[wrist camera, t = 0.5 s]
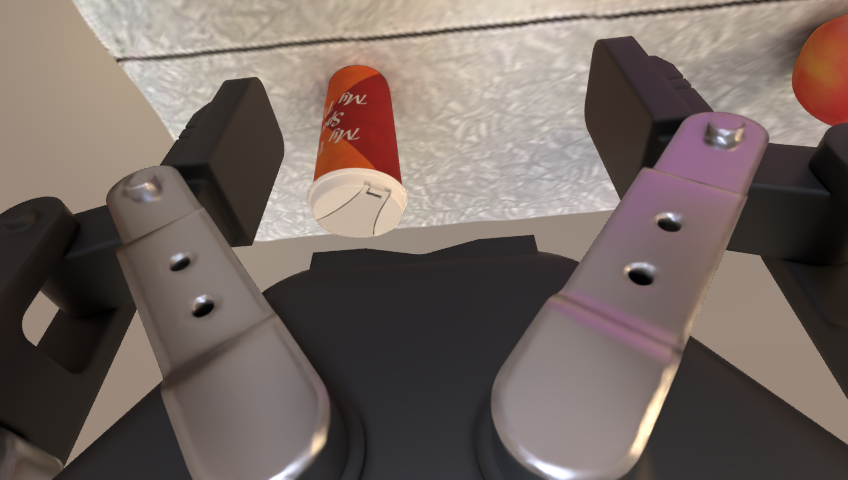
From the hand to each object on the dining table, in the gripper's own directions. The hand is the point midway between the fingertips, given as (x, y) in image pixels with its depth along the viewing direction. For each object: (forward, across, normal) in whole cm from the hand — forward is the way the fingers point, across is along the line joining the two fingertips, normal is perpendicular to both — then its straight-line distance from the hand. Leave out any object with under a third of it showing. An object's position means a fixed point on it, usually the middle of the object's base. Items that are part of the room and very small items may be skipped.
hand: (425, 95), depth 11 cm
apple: (+34, -37, +16) cm, 53 cm away
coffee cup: (+32, +8, +16) cm, 37 cm away
